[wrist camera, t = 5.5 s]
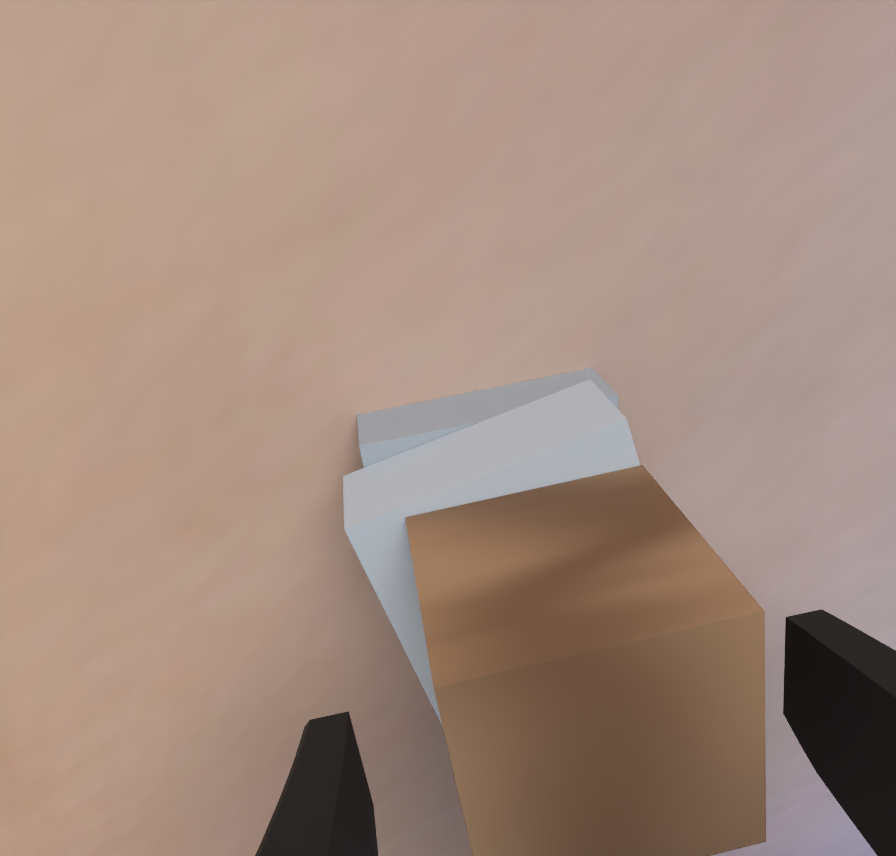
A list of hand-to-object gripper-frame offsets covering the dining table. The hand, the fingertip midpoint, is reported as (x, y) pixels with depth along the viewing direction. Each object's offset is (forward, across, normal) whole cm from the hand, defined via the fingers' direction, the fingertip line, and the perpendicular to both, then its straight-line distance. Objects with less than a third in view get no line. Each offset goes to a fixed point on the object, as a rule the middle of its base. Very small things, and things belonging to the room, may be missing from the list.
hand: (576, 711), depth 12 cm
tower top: (+5, 0, 0) cm, 5 cm away
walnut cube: (+3, 0, 0) cm, 3 cm away
